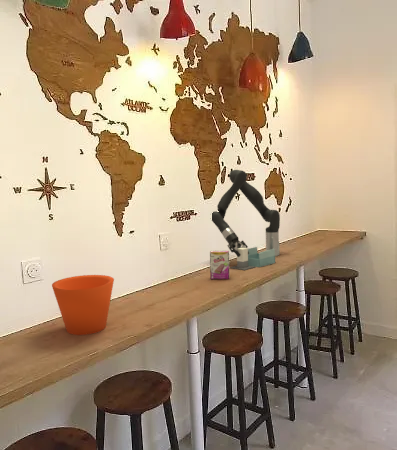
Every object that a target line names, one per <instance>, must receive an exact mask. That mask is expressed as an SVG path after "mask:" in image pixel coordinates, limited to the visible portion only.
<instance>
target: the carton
mask: <svg viewBox="0 0 397 450" xmlns="http://www.w3.org/2000/svg"><path fill="white" fill-rule="evenodd" d="M248 251H249V254H248V265H249V266H255V268H261V267H266V266H269V265H273V264H275V263H276V256H275V249H272V250H267V251H266V250H264V251H260V252H258V246H255V247H254V246H253V247H250V248H249V247H248Z"/></svg>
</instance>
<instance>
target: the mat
mask: <svg viewBox="0 0 397 450" xmlns="http://www.w3.org/2000/svg"><path fill="white" fill-rule="evenodd" d="M255 268H256V267H255V266H249V265H248V267H245V268H240V267H237V265H233V266H229V269H233V270H240V271H249V270H251V269H255Z"/></svg>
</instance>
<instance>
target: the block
mask: <svg viewBox="0 0 397 450" xmlns="http://www.w3.org/2000/svg"><path fill="white" fill-rule="evenodd" d="M248 249H249V247H247V248H238V249H237V251H238V252H239V253H240V257H238V256H237V255H236V266H237V267H240V268H245V267H248Z"/></svg>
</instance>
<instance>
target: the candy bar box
mask: <svg viewBox="0 0 397 450" xmlns="http://www.w3.org/2000/svg"><path fill="white" fill-rule="evenodd" d="M209 264H210V265H209V267H210V268H209V269H210V271H209V273H210V280H230V277H231V276H230V250H229V249H227V250H210V251H209Z"/></svg>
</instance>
